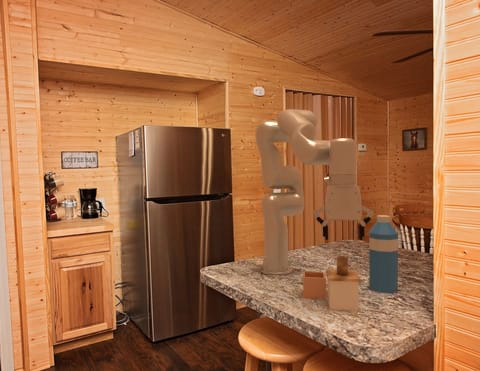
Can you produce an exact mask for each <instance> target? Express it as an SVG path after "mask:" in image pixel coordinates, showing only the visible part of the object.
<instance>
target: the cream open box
mask: <svg viewBox="0 0 480 371" xmlns="http://www.w3.org/2000/svg"><path fill="white" fill-rule="evenodd" d="M359 283H360V282H348V281H328V280H327V302H328V308H329V310H333V311H334V310H339V311H355V312H356V311H357V312H358V311H360V310H359V303H360V302H359V299H360V298H359V293H360V292H359V290H360V289H359Z"/></svg>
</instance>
